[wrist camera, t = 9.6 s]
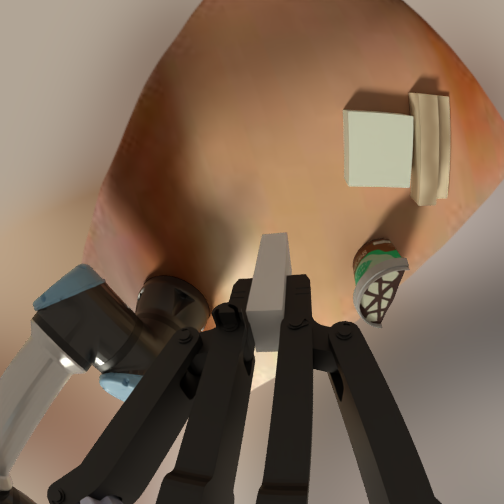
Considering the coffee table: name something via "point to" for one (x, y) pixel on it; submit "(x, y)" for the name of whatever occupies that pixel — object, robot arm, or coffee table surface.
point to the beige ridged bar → (430, 147)
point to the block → (377, 148)
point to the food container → (376, 279)
